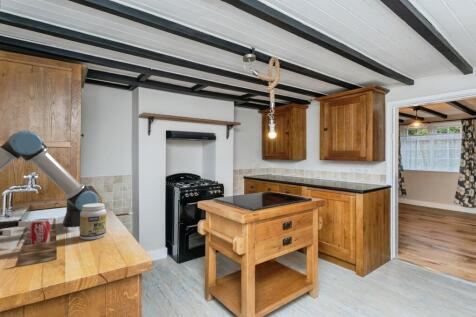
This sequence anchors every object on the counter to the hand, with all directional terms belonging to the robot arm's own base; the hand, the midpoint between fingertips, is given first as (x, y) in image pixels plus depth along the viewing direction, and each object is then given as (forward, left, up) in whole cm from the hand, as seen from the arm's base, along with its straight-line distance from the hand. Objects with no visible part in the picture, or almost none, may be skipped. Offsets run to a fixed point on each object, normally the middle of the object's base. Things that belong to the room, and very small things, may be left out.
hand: (23, 228), depth 117 cm
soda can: (-6, +3, -9) cm, 11 cm away
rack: (-6, +3, -10) cm, 12 cm away
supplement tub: (-28, -5, -10) cm, 30 cm away
